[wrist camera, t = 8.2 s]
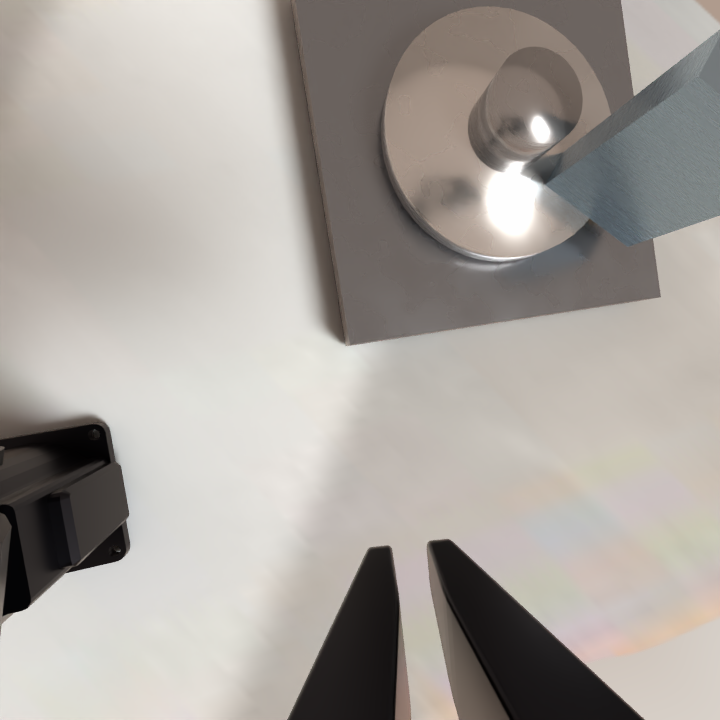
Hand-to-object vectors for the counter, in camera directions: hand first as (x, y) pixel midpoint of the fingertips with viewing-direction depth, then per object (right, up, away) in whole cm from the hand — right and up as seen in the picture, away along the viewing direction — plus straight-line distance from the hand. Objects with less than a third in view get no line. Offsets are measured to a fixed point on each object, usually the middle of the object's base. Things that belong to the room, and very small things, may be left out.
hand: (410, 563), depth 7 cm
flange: (+7, +14, +12) cm, 20 cm away
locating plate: (+6, +15, +14) cm, 21 cm away
